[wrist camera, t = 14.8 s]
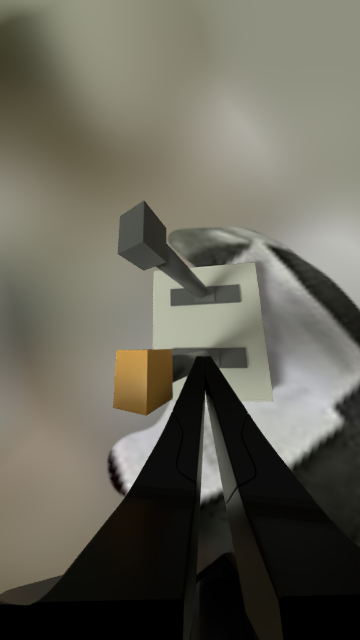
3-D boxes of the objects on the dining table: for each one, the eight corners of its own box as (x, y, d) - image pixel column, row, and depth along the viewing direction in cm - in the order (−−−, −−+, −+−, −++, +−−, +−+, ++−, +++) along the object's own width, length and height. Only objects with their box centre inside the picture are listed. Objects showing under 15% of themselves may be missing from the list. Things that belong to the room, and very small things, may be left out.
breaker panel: (262, 393, 17) (499, 563, 4) (158, 392, 19) (55, 512, 5) (248, 272, 20) (349, 122, 7) (158, 279, 22) (94, 167, 8)
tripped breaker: (215, 370, 15) (146, 415, 5) (199, 369, 16) (113, 407, 6) (214, 347, 15) (147, 349, 6) (198, 347, 16) (116, 350, 7)
